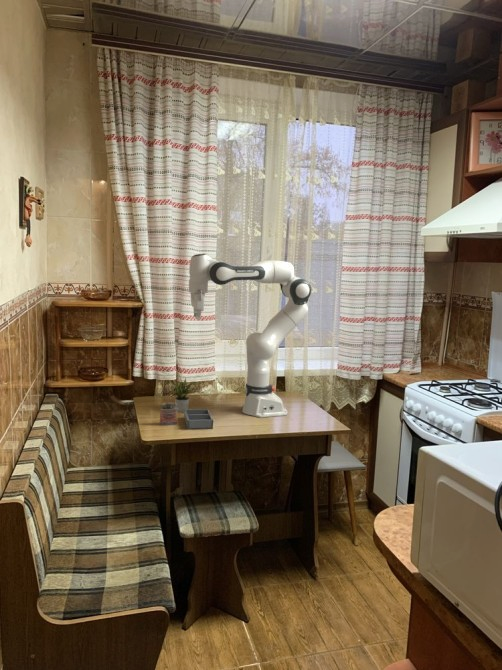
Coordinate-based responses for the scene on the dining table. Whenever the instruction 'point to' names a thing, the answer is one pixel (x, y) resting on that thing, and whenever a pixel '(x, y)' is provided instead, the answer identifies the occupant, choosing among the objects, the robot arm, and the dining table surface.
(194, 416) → the cell holder
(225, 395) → the dining table surface
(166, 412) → the red grey packet
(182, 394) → the house plant
